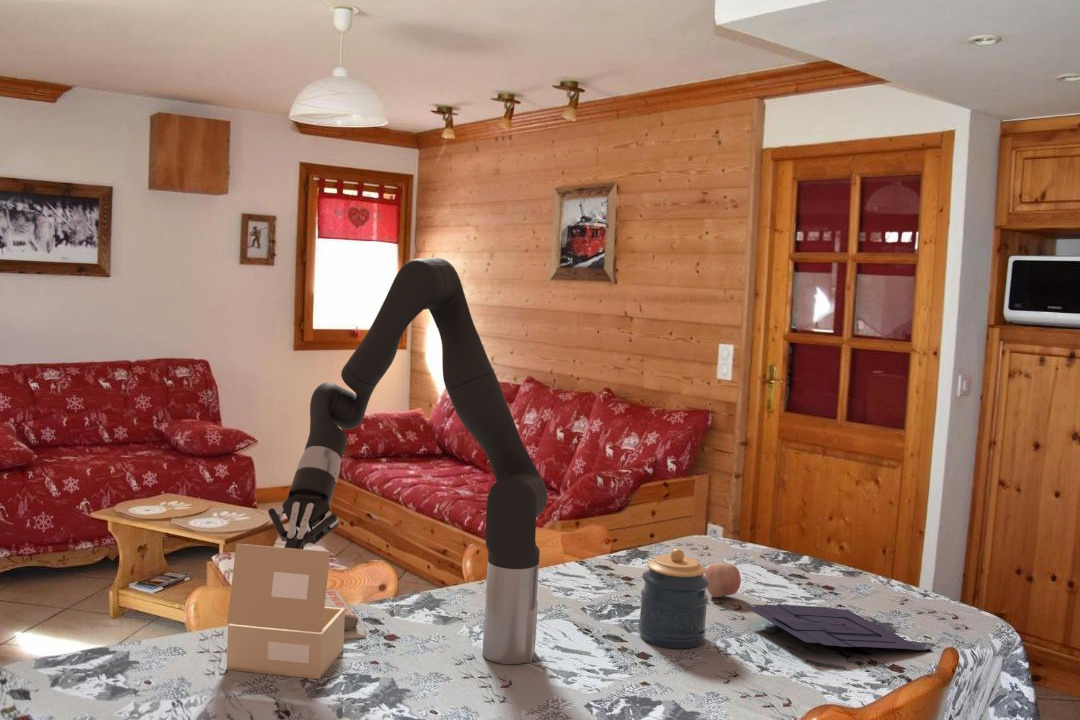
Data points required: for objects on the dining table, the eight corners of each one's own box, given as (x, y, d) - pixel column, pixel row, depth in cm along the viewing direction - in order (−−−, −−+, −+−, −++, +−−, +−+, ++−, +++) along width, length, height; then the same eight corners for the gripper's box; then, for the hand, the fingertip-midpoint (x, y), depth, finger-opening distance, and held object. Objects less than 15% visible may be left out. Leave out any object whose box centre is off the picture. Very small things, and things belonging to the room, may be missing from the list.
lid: (330, 551, 163) (329, 552, 162) (321, 631, 161) (320, 632, 160) (237, 543, 164) (236, 543, 163) (228, 622, 162) (226, 623, 162)
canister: (712, 634, 194) (719, 547, 193) (694, 655, 182) (701, 562, 181) (650, 621, 199) (656, 536, 198) (628, 640, 188) (634, 550, 186)
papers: (734, 615, 202) (737, 598, 202) (848, 621, 214) (851, 605, 214) (809, 660, 180) (812, 641, 180) (931, 664, 192) (934, 646, 192)
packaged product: (294, 588, 193) (344, 584, 197) (293, 612, 193) (343, 608, 197) (313, 619, 176) (368, 614, 181) (312, 645, 177) (366, 640, 181)
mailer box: (343, 650, 174) (345, 608, 174) (319, 679, 161) (321, 634, 161) (256, 641, 176) (258, 600, 175) (226, 669, 163) (227, 625, 162)
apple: (744, 597, 219) (746, 562, 218) (731, 606, 212) (734, 570, 212) (710, 589, 223) (713, 555, 222) (697, 597, 216) (700, 562, 216)
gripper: (276, 462, 176) (246, 547, 165) (347, 468, 175) (323, 554, 163) (285, 485, 181) (257, 569, 170) (355, 491, 180) (331, 575, 169)
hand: (289, 561), depth 167 cm, fingers closed
